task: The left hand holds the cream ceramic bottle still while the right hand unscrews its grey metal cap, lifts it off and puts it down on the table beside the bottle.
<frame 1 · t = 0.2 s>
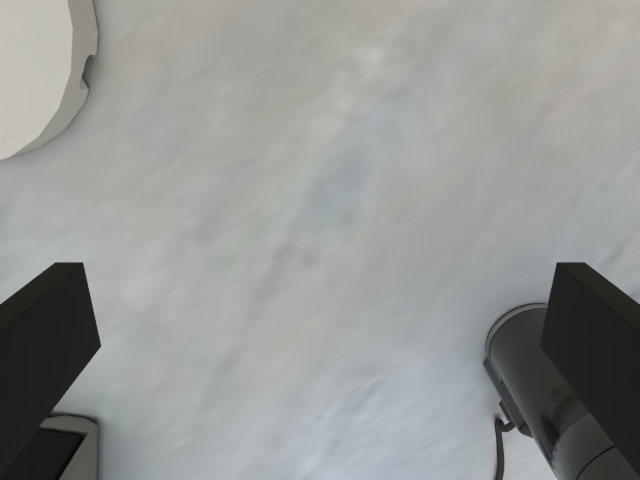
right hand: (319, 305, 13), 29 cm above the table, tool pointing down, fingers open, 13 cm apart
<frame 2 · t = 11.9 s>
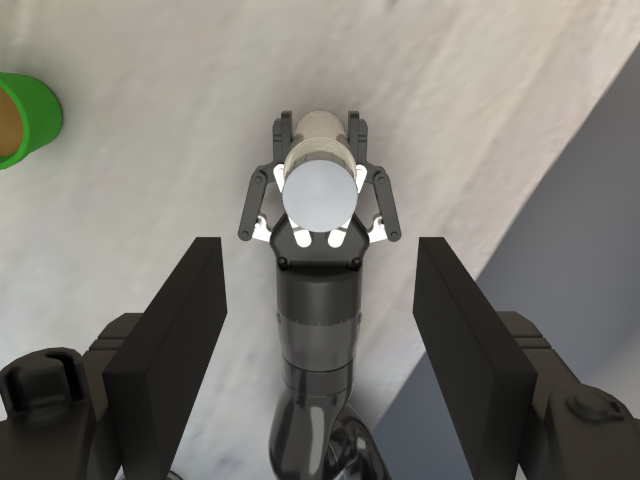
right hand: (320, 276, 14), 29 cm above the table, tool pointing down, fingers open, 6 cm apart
left hand: (320, 113, 34), fingers closed on bottle, 4 cm apart
bottle: (320, 135, 41), on the table, touching left hand
potted flower: (26, 108, 40), on the table
cap: (320, 195, 23), point 20 cm above the table, screwed on, not yet turned
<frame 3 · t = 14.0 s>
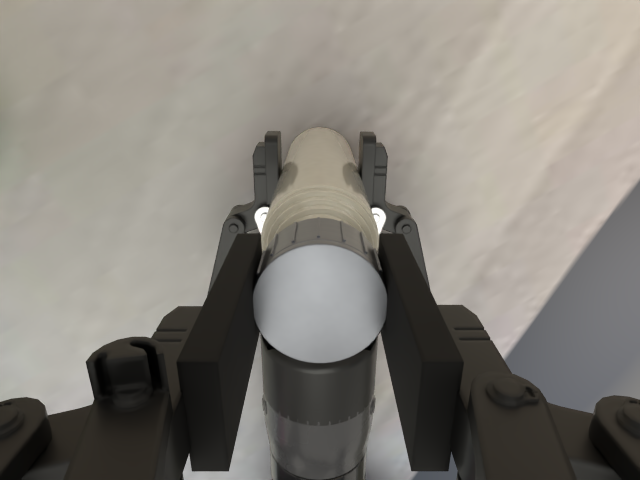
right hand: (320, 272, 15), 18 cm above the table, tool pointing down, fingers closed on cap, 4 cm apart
bottle: (319, 160, 31), on the table, touching left hand
cap: (320, 301, 13), point 20 cm above the table, screwed on, not yet turned, touching right hand
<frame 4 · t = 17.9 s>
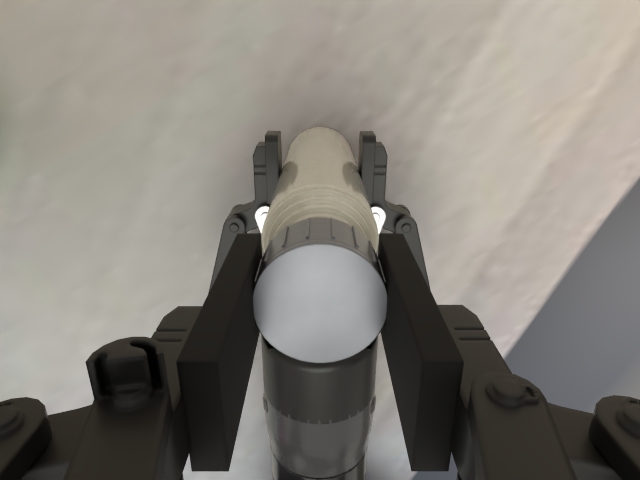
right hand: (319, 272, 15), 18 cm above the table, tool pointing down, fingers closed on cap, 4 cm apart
bottle: (319, 159, 31), on the table, touching left hand
cap: (320, 301, 13), point 20 cm above the table, turned 136° so far, risen 0.1 cm, still on its thread, touching right hand
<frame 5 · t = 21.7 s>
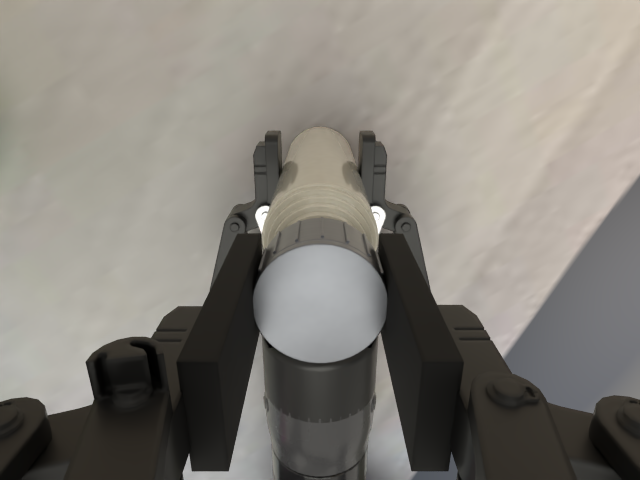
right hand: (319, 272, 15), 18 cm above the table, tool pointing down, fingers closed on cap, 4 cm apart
bottle: (320, 159, 31), on the table, touching left hand
cap: (320, 301, 13), point 20 cm above the table, turned 272° so far, risen 0.2 cm, still on its thread, touching right hand
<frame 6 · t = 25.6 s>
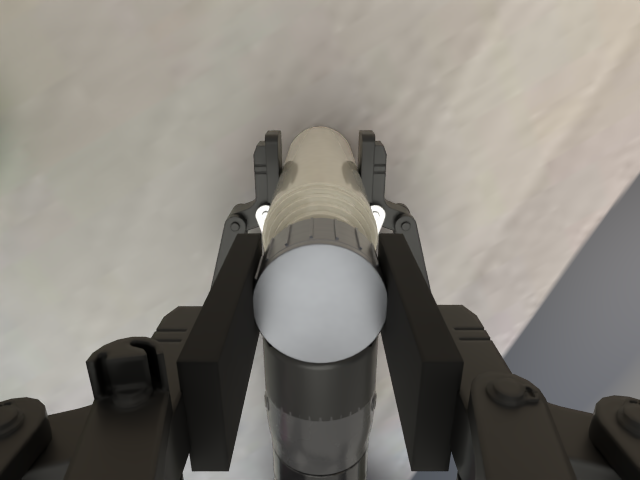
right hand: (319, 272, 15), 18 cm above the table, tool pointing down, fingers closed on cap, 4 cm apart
bottle: (320, 159, 31), on the table, touching left hand
cap: (320, 301, 13), point 20 cm above the table, turned 408° so far, risen 0.3 cm, still on its thread, touching right hand
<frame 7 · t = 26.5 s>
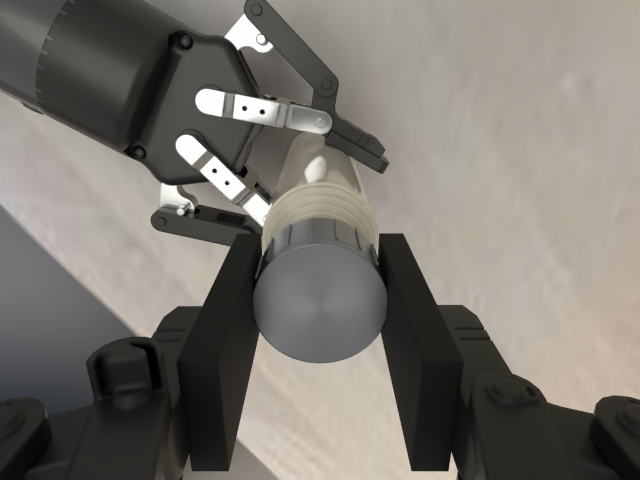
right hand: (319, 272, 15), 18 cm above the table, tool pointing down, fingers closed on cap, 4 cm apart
left hand: (359, 203, 26), fingers closed on bottle, 4 cm apart
bottle: (319, 158, 32), on the table, touching left hand
cap: (320, 301, 13), point 20 cm above the table, off its thread, touching right hand
when the right hand's fingers open (1 cm above the table, at t = 32.3 s): cap drops 2 cm, point 2 cm above the table.
when the left hand's fingers open (6 cm above the table, at t = 33.6 s): bottle stays where it is, on the table.
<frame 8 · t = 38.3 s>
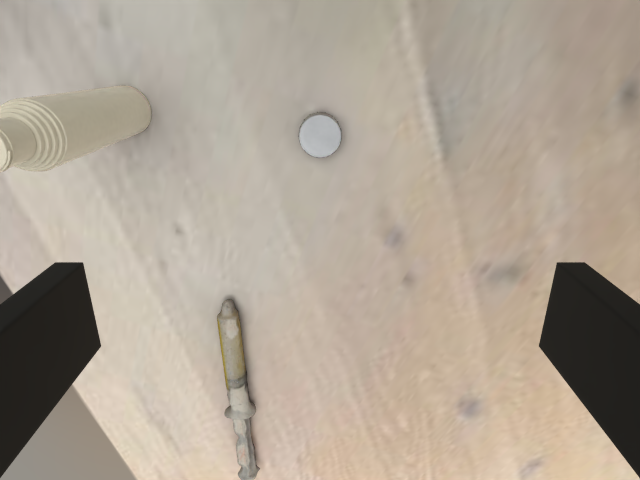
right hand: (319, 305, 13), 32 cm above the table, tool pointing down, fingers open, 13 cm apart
bottle: (127, 110, 42), on the table
cap: (320, 136, 41), point 2 cm above the table, off its thread
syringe: (242, 389, 54), on the table
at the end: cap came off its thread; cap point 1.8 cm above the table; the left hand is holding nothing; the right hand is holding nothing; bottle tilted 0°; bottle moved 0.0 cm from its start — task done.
